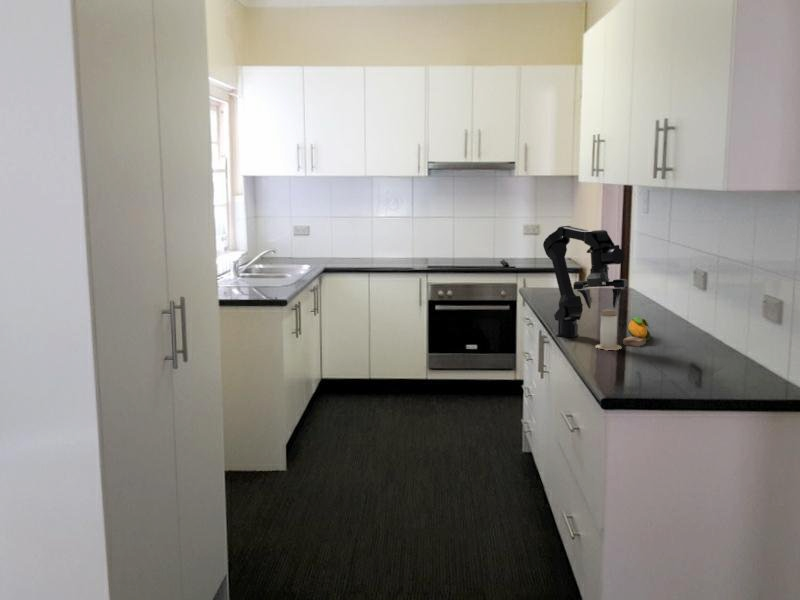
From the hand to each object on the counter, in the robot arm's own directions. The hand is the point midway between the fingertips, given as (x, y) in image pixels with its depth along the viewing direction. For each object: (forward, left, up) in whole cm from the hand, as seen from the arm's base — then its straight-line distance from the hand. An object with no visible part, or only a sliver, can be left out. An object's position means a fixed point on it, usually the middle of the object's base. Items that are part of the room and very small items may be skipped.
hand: (601, 308), depth 300 cm
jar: (+4, -3, -13) cm, 14 cm away
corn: (+7, +18, -14) cm, 24 cm away
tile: (+9, +8, -14) cm, 18 cm away
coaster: (+4, -3, -14) cm, 15 cm away
